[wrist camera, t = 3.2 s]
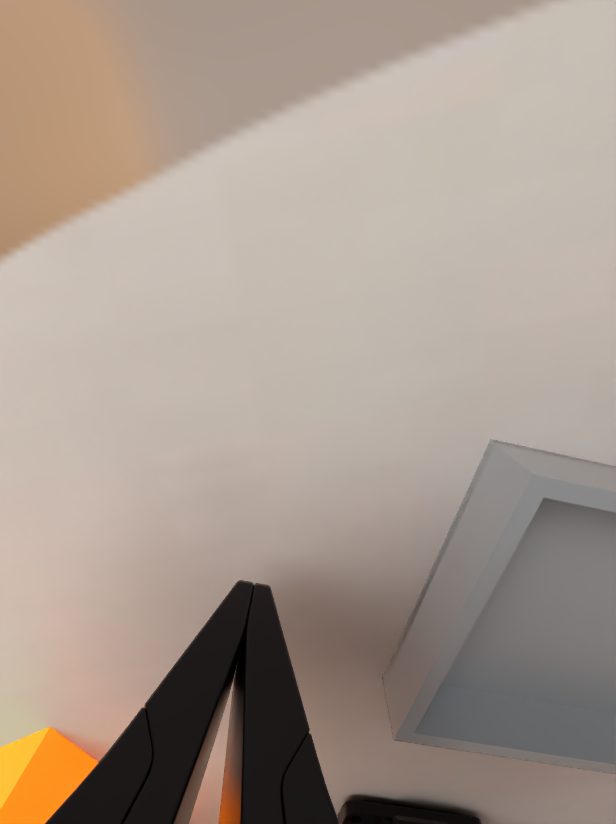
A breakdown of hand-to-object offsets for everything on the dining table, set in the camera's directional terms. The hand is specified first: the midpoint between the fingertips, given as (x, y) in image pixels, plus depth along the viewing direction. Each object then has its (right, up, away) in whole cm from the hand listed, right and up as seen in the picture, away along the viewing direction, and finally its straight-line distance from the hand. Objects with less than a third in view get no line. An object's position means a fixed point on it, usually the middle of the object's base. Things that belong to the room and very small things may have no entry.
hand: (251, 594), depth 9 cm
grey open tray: (+12, -2, +3) cm, 13 cm away
